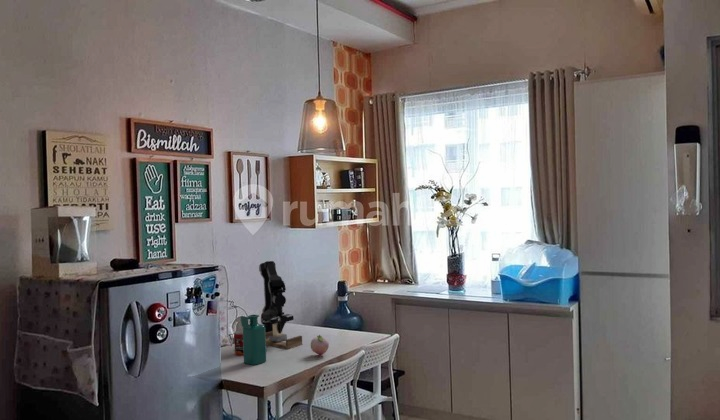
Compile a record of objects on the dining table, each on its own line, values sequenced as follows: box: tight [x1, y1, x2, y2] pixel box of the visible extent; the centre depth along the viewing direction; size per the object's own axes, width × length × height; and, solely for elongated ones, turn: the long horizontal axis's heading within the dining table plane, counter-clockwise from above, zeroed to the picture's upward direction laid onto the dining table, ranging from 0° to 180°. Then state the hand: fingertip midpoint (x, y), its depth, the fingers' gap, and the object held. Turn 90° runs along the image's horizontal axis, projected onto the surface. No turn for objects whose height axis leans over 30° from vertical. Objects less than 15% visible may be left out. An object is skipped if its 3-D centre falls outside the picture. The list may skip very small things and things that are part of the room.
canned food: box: [233, 329, 244, 357], centre depth 290 cm, size 8×8×11 cm
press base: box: [265, 331, 303, 350], centre depth 307 cm, size 22×10×4 cm, turn 52°
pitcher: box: [240, 314, 267, 366], centre depth 273 cm, size 10×8×22 cm
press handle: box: [269, 323, 288, 342], centre depth 308 cm, size 6×7×8 cm
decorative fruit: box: [310, 334, 330, 357], centre depth 282 cm, size 9×8×10 cm
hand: (277, 333), depth 308 cm, fingers closed on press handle, 3 cm apart
